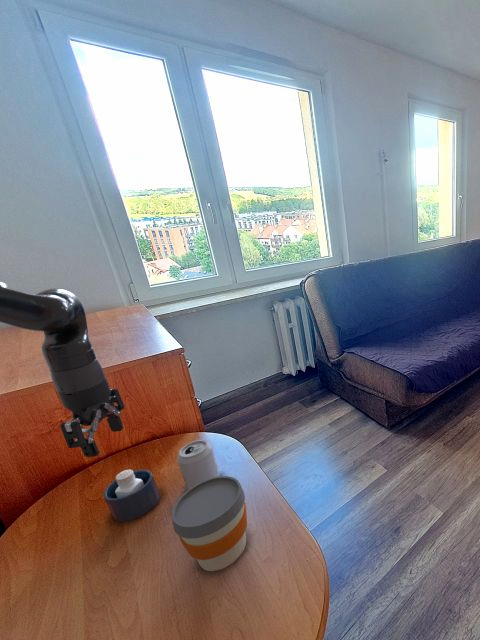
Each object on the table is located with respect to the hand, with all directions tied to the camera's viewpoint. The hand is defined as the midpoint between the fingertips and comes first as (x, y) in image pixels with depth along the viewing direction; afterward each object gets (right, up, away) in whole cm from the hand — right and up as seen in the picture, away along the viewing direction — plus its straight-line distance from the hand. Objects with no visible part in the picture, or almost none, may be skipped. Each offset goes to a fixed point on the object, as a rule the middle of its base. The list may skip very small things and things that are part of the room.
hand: (106, 442), depth 77 cm
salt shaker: (+2, -18, +6) cm, 19 cm away
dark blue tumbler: (+2, -18, +6) cm, 19 cm away
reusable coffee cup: (+30, -22, -4) cm, 37 cm away
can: (+14, -16, +13) cm, 25 cm away
